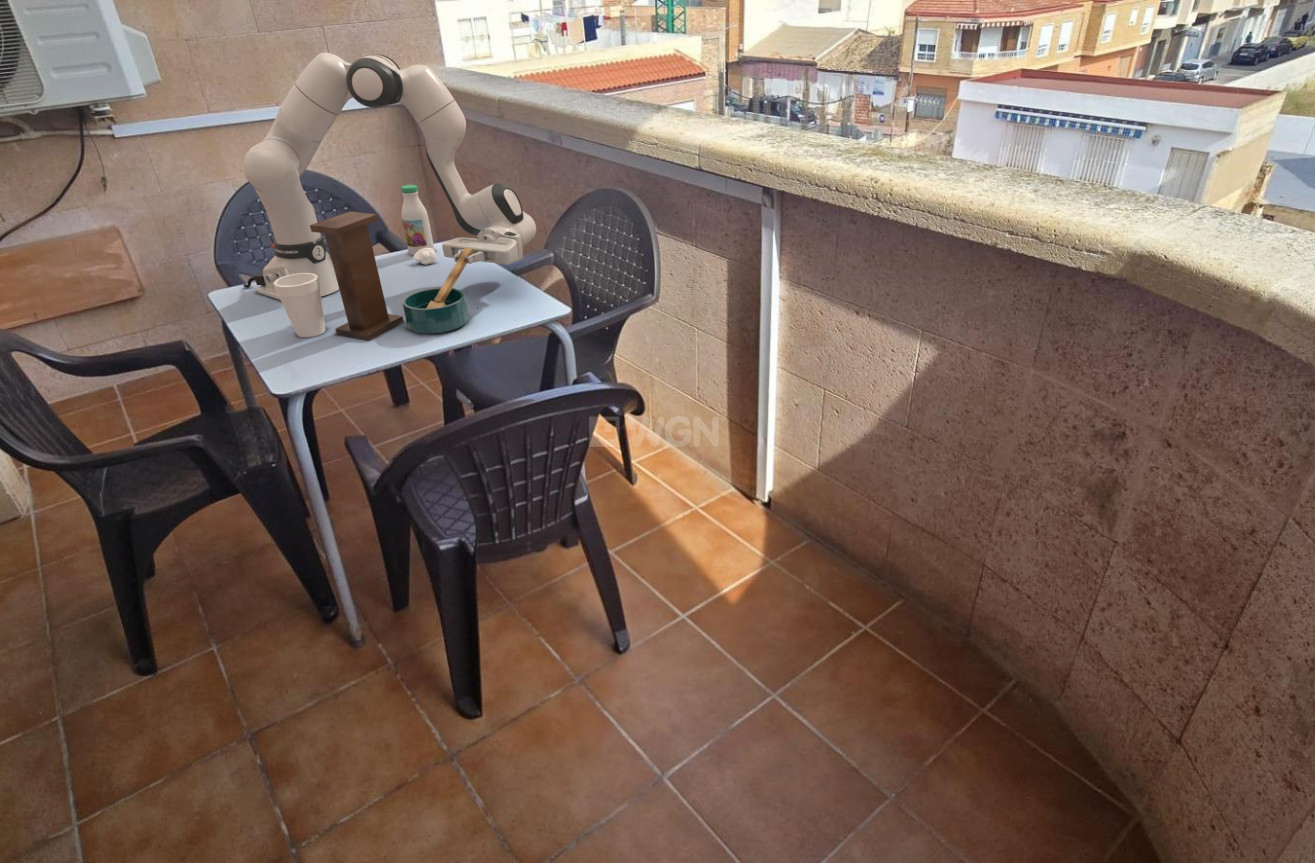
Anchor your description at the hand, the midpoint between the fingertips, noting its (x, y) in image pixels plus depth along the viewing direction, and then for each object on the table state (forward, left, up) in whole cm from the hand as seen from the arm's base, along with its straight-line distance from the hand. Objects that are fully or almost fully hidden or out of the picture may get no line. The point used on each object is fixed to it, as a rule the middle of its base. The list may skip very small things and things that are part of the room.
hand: (461, 259), depth 180 cm
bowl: (0, -12, -12) cm, 17 cm away
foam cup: (-26, -27, -12) cm, 40 cm away
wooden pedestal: (-14, -20, -12) cm, 28 cm away
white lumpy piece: (-34, +25, -12) cm, 44 cm away
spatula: (0, -7, -5) cm, 8 cm away
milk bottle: (-42, +33, -12) cm, 55 cm away
